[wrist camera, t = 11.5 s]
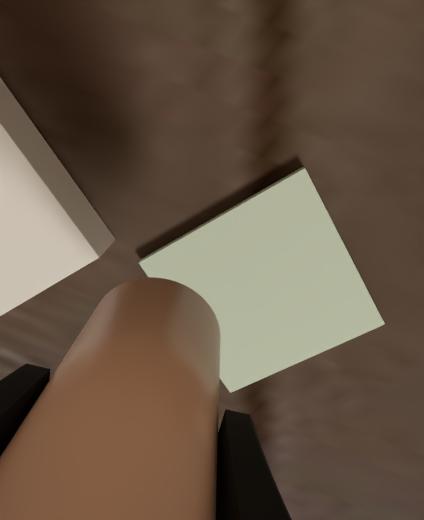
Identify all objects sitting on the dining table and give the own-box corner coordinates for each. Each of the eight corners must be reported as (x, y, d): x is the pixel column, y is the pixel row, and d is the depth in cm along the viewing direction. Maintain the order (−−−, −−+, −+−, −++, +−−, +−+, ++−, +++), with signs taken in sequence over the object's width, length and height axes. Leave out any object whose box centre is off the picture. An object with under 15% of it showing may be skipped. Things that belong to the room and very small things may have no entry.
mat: (230, 386, 22) (230, 392, 22) (141, 259, 20) (138, 262, 19) (381, 319, 20) (384, 324, 20) (303, 166, 18) (305, 168, 17)
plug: (141, 405, 14) (50, 727, 7) (65, 317, 13) (-148, 594, 6) (244, 355, 13) (266, 667, 6) (173, 253, 12) (86, 489, 5)
